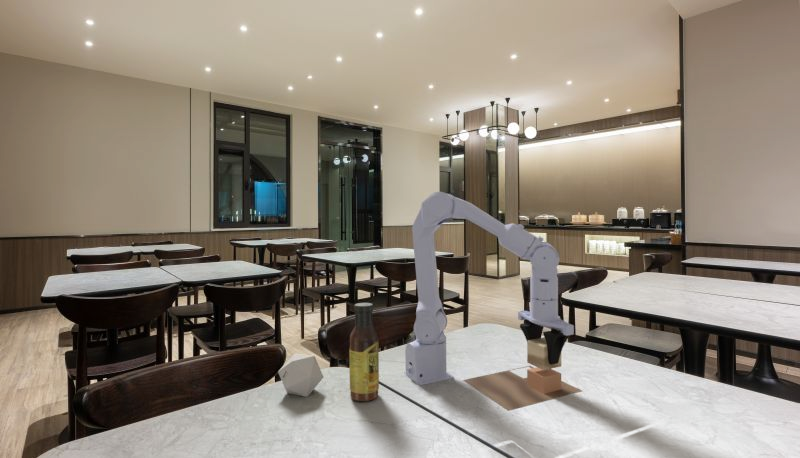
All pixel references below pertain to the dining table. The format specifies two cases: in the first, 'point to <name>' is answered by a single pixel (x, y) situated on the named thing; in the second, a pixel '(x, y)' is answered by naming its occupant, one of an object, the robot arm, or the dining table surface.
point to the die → (300, 374)
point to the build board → (515, 389)
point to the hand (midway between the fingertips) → (544, 359)
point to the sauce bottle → (364, 355)
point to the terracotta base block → (544, 380)
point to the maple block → (539, 354)
